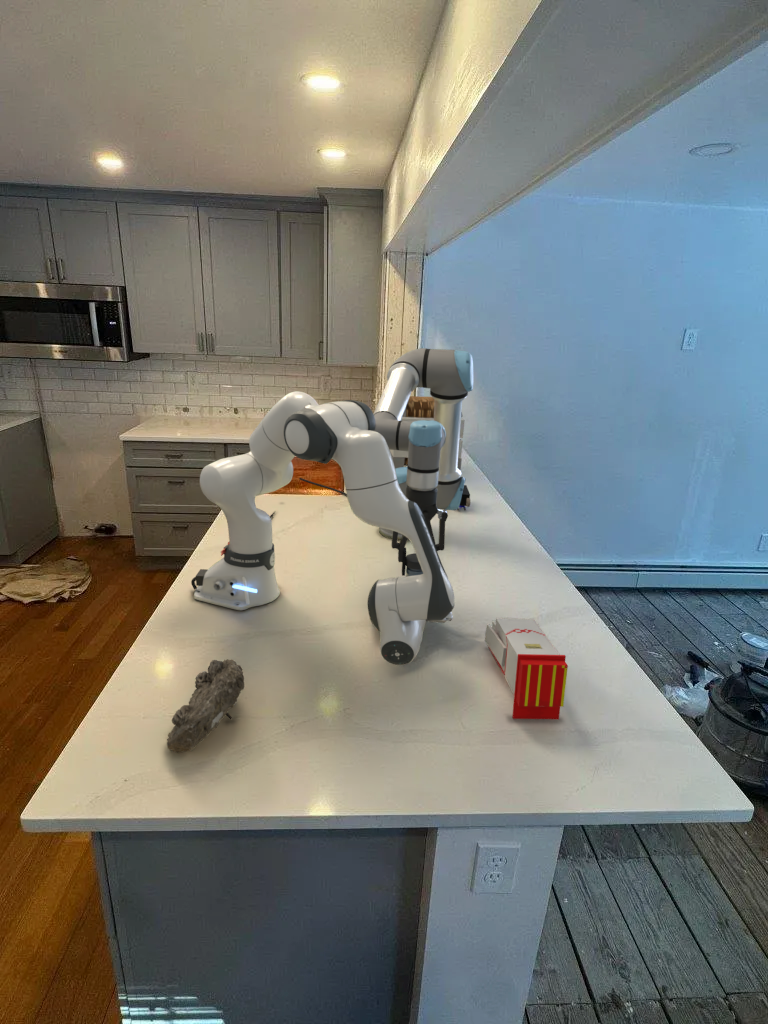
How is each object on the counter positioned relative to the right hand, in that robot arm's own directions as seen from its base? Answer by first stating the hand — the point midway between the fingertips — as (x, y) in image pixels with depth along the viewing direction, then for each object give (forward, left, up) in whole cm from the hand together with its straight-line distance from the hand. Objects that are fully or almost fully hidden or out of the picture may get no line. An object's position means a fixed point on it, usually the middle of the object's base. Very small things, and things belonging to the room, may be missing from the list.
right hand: (415, 573), depth 144 cm
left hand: (-1, +1, -5) cm, 5 cm away
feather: (-85, +8, -12) cm, 86 cm away
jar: (0, 0, -12) cm, 12 cm away
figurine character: (-52, +75, -12) cm, 92 cm away
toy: (+33, 0, -12) cm, 36 cm away
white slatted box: (-96, +95, -12) cm, 136 cm away
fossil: (+5, -58, -12) cm, 59 cm away
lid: (0, 0, +4) cm, 4 cm away
